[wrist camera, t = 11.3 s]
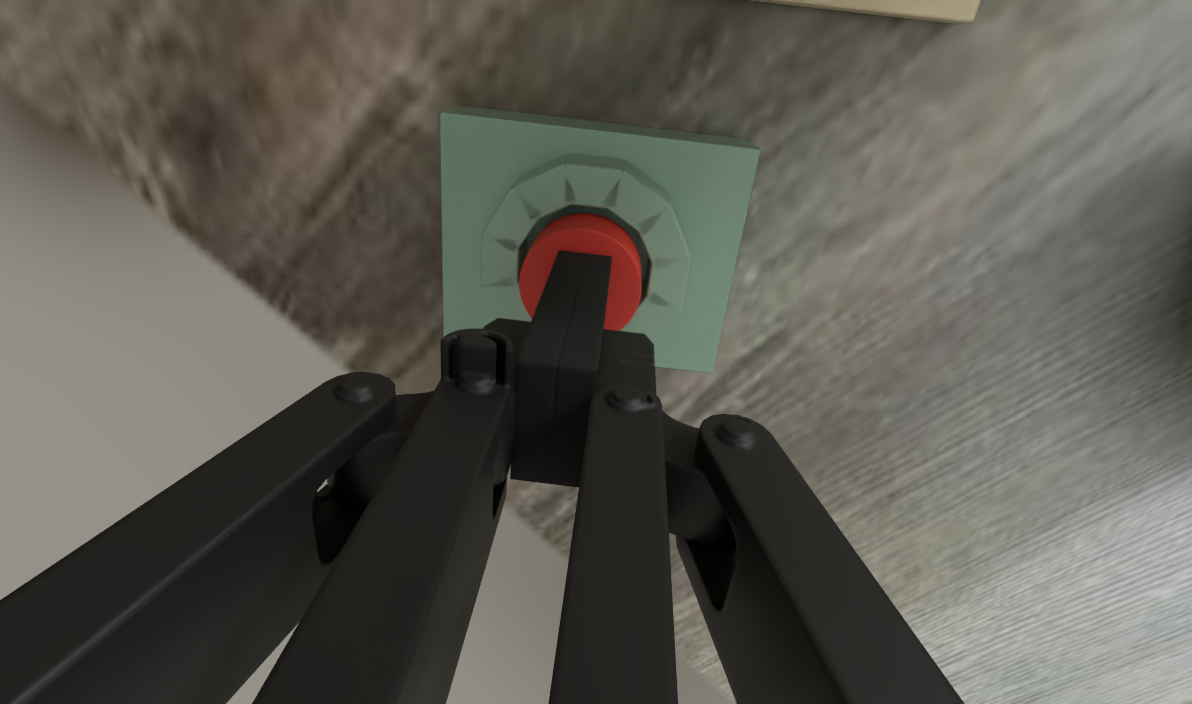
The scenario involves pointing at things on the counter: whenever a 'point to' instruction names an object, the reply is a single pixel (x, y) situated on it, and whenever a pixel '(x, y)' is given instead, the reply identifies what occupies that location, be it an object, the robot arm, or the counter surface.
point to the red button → (589, 238)
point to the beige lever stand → (898, 8)
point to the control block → (599, 186)
